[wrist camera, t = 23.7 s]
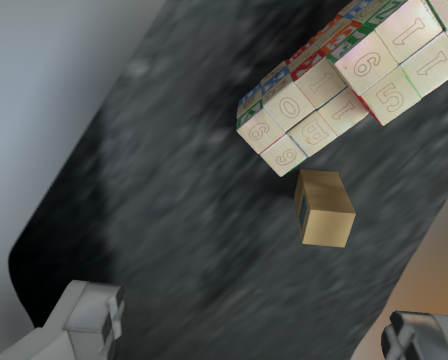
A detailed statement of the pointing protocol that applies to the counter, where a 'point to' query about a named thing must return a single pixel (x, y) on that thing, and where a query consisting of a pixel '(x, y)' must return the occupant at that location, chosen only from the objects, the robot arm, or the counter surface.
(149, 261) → the counter surface
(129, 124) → the counter surface
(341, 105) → the stack of blocks
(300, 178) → the birch block
